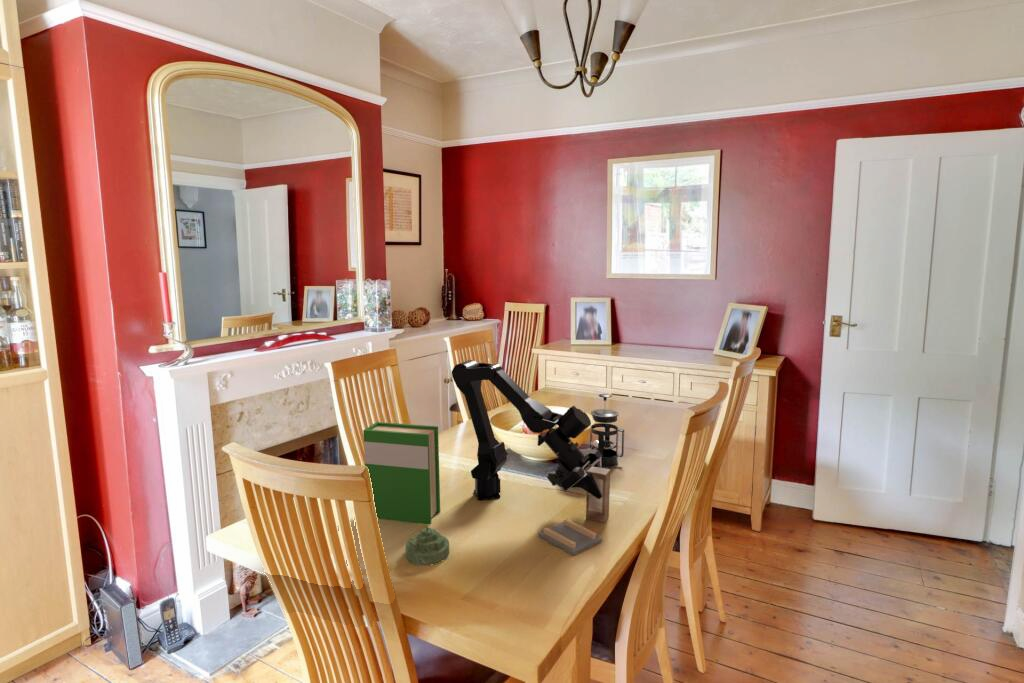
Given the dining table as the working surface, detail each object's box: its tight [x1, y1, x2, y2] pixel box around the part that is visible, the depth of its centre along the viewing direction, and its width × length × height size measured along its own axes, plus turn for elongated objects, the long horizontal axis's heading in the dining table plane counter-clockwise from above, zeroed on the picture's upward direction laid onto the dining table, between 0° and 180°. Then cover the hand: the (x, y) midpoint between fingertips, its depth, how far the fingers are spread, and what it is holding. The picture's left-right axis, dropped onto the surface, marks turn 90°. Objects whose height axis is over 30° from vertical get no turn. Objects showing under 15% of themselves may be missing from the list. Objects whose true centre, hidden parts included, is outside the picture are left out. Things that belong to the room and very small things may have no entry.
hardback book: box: [362, 421, 441, 525], centre depth 154 cm, size 18×7×24 cm, turn 76°
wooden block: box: [585, 466, 611, 523], centre depth 153 cm, size 5×4×13 cm
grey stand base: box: [537, 518, 603, 556], centre depth 143 cm, size 12×10×2 cm
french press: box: [589, 393, 625, 468], centre depth 191 cm, size 12×9×23 cm
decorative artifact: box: [405, 525, 450, 567], centre depth 136 cm, size 10×7×10 cm
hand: (603, 494), depth 152 cm, fingers closed on wooden block, 4 cm apart
